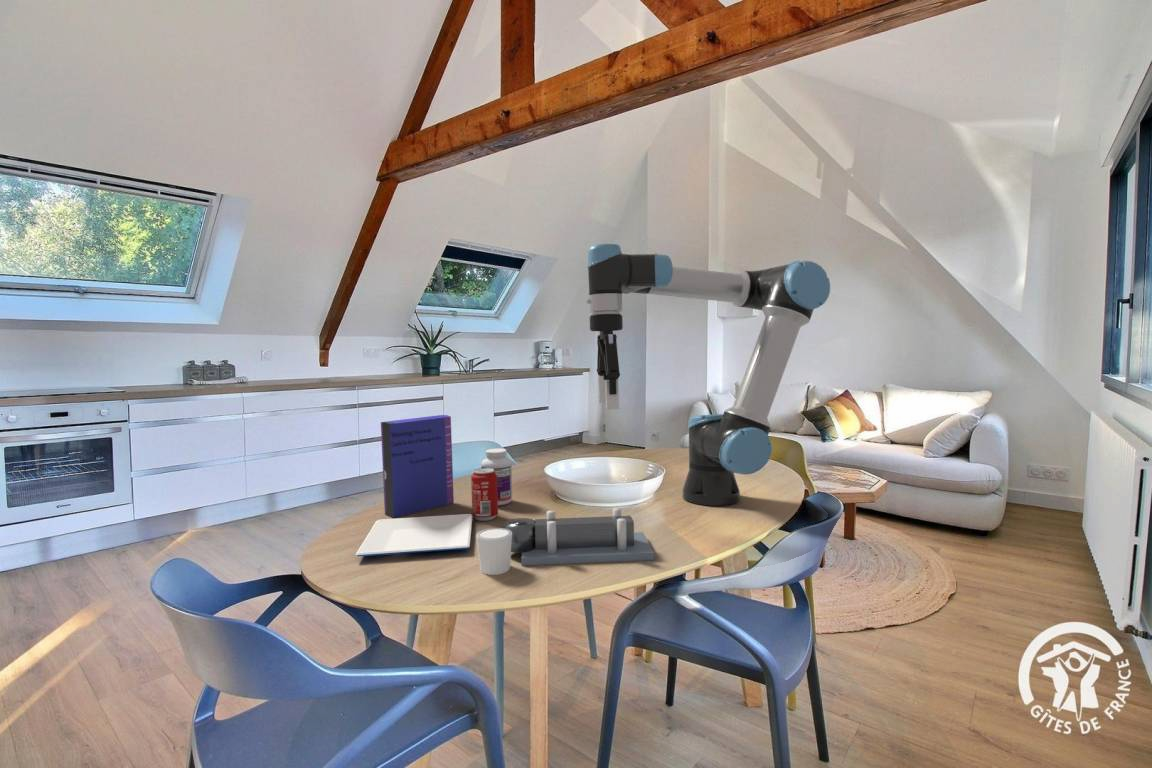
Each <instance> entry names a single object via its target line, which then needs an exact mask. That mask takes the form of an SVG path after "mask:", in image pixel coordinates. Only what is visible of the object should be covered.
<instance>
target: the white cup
mask: <svg viewBox="0 0 1152 768" xmlns="http://www.w3.org/2000/svg"><path fill="white" fill-rule="evenodd" d="M475 537H476V538H475V539H476V545H477V546H476V547H477V554H478V562H479V569H480V572H481V574H484V575H487V574H488V575H489V576H497V575H502V574H505V573H507V572H509V571H510V569H511V557H512V556H511V555H512V552H511V544H512V532H511V531H510V530H508V529H505V527H504V528H503V527H502V528H501V527H492V528H485V529H482V530H480V531H477V533H476V535H475ZM488 575H487V576H488Z"/></svg>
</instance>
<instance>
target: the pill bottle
mask: <svg viewBox="0 0 1152 768" xmlns="http://www.w3.org/2000/svg"><path fill="white" fill-rule="evenodd" d="M507 454H508V453H507V449H505V448H489V449H486V450H485V457H486V458H484V459H483V460H482V461H481V468H492V469H494V472H495V473H496V475H497V493H498V507H499V506H506V505H508V504H509V503H511V502H512V500H513V481H512V479H513V478H512V477H513V475H512V461H511V459H510V458H509V457H506V456H507Z"/></svg>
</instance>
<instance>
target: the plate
mask: <svg viewBox="0 0 1152 768" xmlns="http://www.w3.org/2000/svg"><path fill="white" fill-rule="evenodd" d="M472 522H473V515H472V514H471V513H462V514H460V513H459V514H448V515H446V514H445V515H433V516H432V515H430V516H417V517H414V516H413V517H397V518H383V519H381V518H380V519H377V520H376V521H375V522H374V524H373V526H372V527H371V528H370V531H369V532H368V534H367V536H366V537H365V539H364V540H363V542H362V543H361V544H360V547H359V548H358V550H357V551H356V553H355V556H356V557H370V556H371V557H372V556H382V555H383V556H384V555H399V554H411V553H412V554H414V553H427V552H439V551H440V552H441V551H454V550H455V551H456V550H467V549H469V548H470V545H471V534H472V524H473V523H472Z"/></svg>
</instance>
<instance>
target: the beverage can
mask: <svg viewBox="0 0 1152 768" xmlns="http://www.w3.org/2000/svg"><path fill="white" fill-rule="evenodd" d="M470 480H471V481H470V483H471V513H472V517H474V519H475V520H476V521H482V522H487V521H491V520H494V519H496V516H498V514H499V506H498V493H497V475H496V473H495V472H494V469H492V468H477V469H474V470H473V473H472V475H471V477H470Z"/></svg>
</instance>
